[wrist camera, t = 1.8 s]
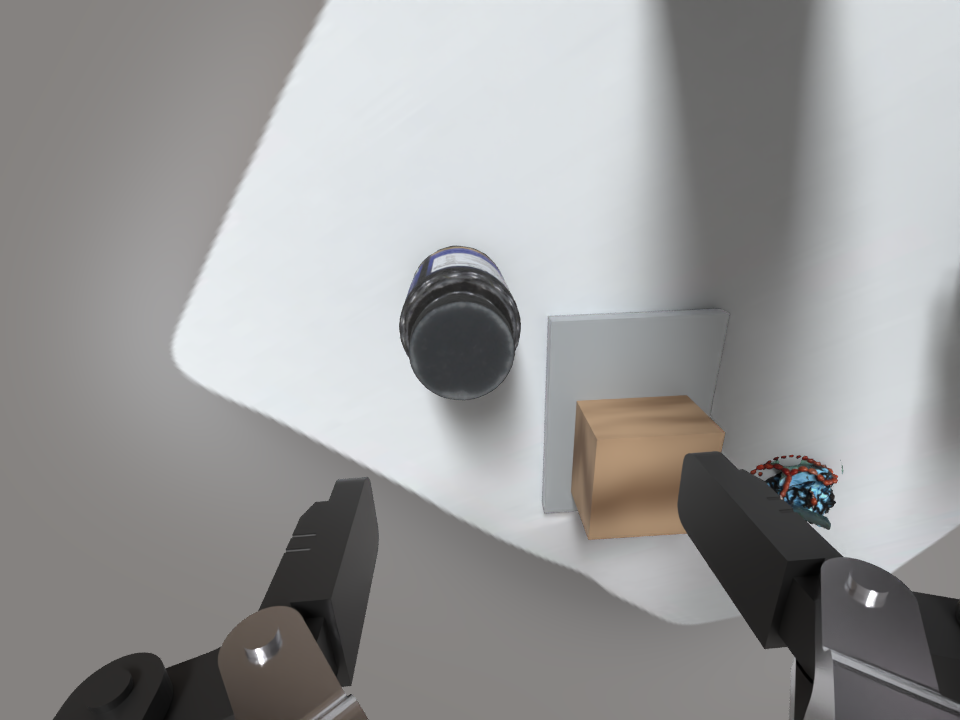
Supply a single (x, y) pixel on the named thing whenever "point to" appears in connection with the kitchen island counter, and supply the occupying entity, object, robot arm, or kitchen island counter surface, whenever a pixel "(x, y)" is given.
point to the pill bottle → (459, 324)
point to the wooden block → (635, 462)
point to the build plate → (621, 373)
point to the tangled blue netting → (804, 488)
